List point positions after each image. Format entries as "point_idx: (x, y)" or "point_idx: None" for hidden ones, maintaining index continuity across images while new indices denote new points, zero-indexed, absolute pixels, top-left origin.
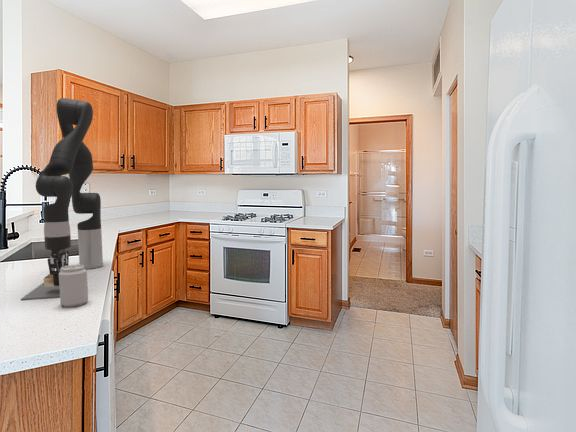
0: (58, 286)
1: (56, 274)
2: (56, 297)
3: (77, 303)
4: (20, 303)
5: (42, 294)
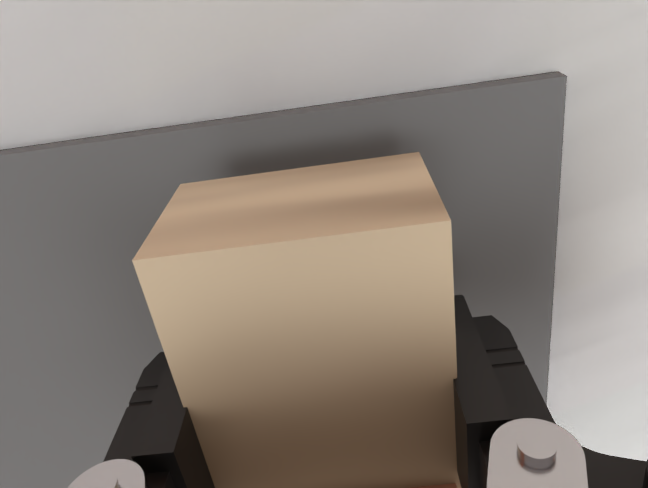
0: (129, 378)
1: (630, 475)
2: (550, 228)
3: None
4: (634, 456)
5: None
